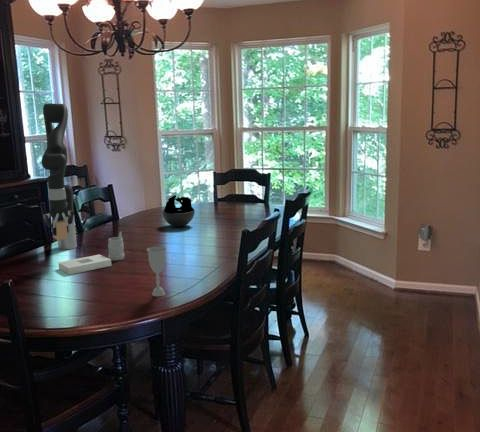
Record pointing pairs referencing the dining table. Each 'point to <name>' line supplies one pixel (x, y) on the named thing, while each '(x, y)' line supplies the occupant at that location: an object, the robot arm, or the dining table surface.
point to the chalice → (157, 266)
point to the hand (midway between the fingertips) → (60, 234)
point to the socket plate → (84, 264)
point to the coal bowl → (178, 211)
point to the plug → (61, 230)
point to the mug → (116, 248)
